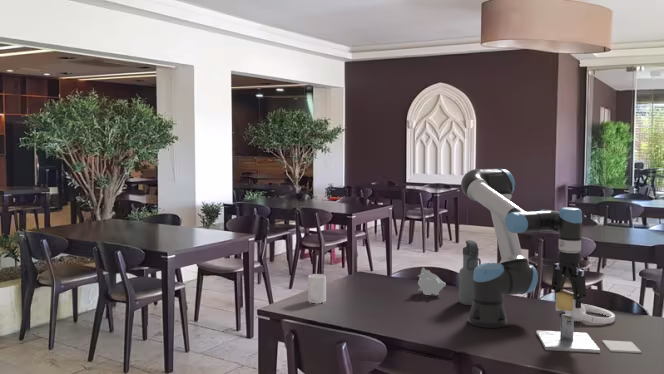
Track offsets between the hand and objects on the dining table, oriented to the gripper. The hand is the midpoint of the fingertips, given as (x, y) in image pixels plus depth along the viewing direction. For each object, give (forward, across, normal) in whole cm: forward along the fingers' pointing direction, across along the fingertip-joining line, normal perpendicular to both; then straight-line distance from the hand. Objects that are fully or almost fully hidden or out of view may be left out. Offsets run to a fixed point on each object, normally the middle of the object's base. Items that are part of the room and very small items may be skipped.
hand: (567, 313), depth 214 cm
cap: (-2, 0, 0) cm, 2 cm away
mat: (+11, +11, +15) cm, 21 cm away
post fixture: (+11, 0, 0) cm, 11 cm away
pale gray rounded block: (+11, -82, -68) cm, 107 cm away
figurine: (+11, -76, -11) cm, 78 cm away
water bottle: (+11, -57, -3) cm, 58 cm away
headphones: (+11, -20, +30) cm, 38 cm away
